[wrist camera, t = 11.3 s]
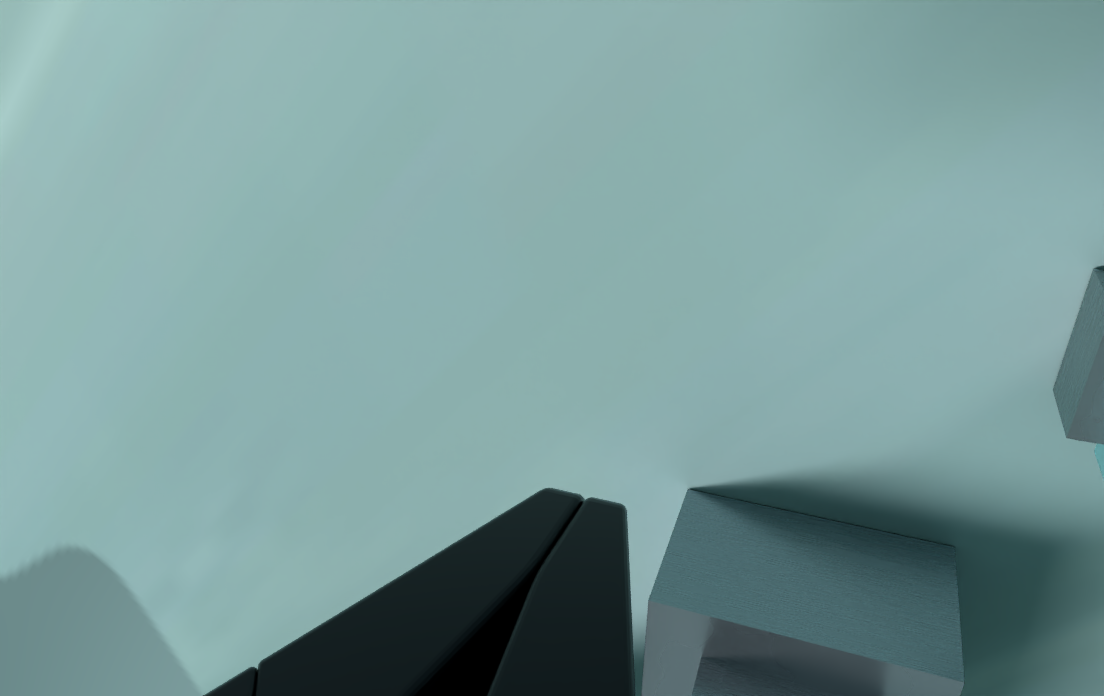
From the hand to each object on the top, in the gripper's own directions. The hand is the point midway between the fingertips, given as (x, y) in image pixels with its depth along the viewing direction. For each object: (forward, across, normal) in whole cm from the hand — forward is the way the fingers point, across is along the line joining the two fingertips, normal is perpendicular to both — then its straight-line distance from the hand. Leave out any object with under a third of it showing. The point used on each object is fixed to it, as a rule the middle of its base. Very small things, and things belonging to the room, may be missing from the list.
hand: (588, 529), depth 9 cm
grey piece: (+13, -2, +13) cm, 19 cm away
